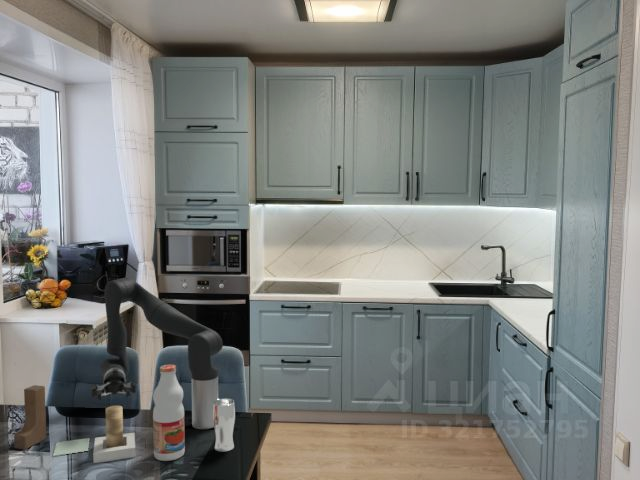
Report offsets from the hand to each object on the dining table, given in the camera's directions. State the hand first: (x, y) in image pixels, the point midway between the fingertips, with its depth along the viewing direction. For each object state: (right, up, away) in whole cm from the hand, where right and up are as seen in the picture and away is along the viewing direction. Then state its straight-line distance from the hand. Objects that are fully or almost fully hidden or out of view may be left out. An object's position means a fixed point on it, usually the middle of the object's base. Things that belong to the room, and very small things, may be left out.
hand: (113, 395), depth 180 cm
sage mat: (-11, -15, -7) cm, 19 cm away
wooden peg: (+4, -15, -10) cm, 18 cm away
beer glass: (+38, -15, -7) cm, 42 cm away
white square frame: (+4, -15, -10) cm, 18 cm away
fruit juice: (+22, -15, -12) cm, 29 cm away
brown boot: (-26, -15, -4) cm, 30 cm away
